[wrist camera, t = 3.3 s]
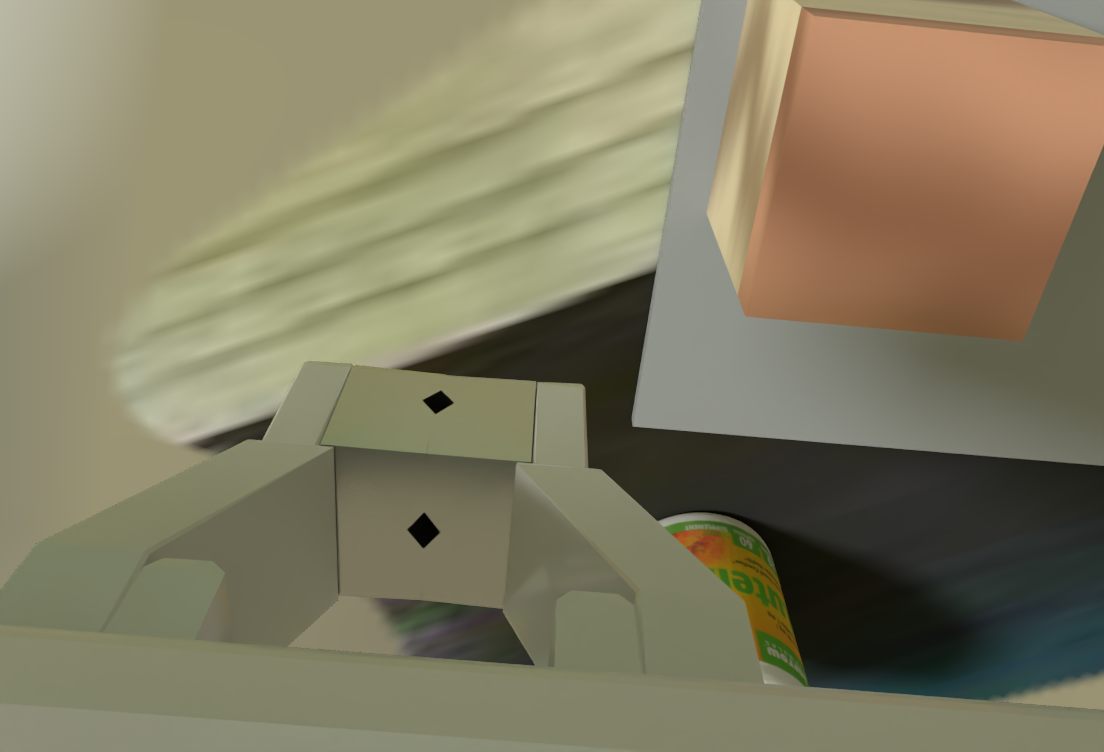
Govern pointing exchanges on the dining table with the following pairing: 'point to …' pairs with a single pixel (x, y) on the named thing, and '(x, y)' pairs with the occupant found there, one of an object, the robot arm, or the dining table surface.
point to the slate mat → (860, 352)
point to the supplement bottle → (746, 586)
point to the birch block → (904, 161)
